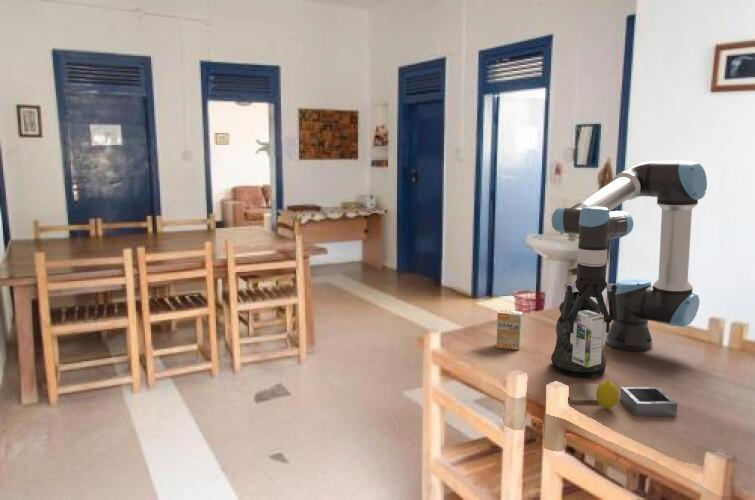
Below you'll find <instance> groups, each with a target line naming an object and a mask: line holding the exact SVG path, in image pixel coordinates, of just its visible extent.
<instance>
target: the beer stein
mask: <svg viewBox="0 0 755 500" xmlns="http://www.w3.org/2000/svg"><path fill="white" fill-rule="evenodd" d="M578 292H579V291H574V292H573V295H572V301H571V306H570V311H571V309H572V306H573V304H574V302H575V300H576V298H577V294H578ZM563 303H564V300H563V301H562V302H561V303H560V304H559V306H558V309H559V312H560V314H561V313H562V308H563ZM584 310H589V311H592V312H595V313H598V314H601V311H600V308H599V306H598V303H597V301H595V300H593V299H592V297H589V298H586V299H585V301H583V304H582V306H581V308H580V310H579V311H584ZM570 311H569V313H570ZM555 327H556V328H555V332H556V342H555V346H554V350H553V352H552V354H551V357H550V360H551V364H552V369H553V370H554V371H555V372H556V373H558V374H560V375H563V376H566V377H570V378H575V379H580V380H581V379H582V380H584V379H596V378H600V377H602V376H603V374H605V371H606V366H607V359H606V356H605V352H604V349H603V347H602V354H601V364H598V365H594V366H591V367H585V366H583V365H580V364H578V363H576V362H572V354H573V345H572V344H571V343H570V335H571V333H569V332H568V330H567V328H568V321H567V320H564V319H563V318H562V317H561V315H559V318H558V320H557V322H556V325H555Z"/></svg>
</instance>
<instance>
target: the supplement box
mask: <svg viewBox="0 0 755 500" xmlns="http://www.w3.org/2000/svg"><path fill="white" fill-rule="evenodd" d="M496 316H497V319H496V322H497V323H496V344H495V345H496V348H498V349H506V350H508V349H509V350H516V351H520V349H521V347H522V338H523V337H522V335H523V334H522V333H523V332H522V330H523V311H517V310H507V309H499V310H497V315H496Z"/></svg>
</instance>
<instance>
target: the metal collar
mask: <svg viewBox="0 0 755 500" xmlns="http://www.w3.org/2000/svg"><path fill="white" fill-rule="evenodd" d="M619 398H620V401H621V402H623V404H624V405H625V406H626V407H627V408H628V409H629V410H630V411H631V412H632V414H633V415H635V417H677V415H678V414H677V413H678V402H676V401H675V400H674V399H673V398H672V397H671V396H669V395H668V394H667V392H665V391H664V390H663V389H662V388H660V387H659V386H628V387H627V386H624V387H623V386H620V395H619Z"/></svg>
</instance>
